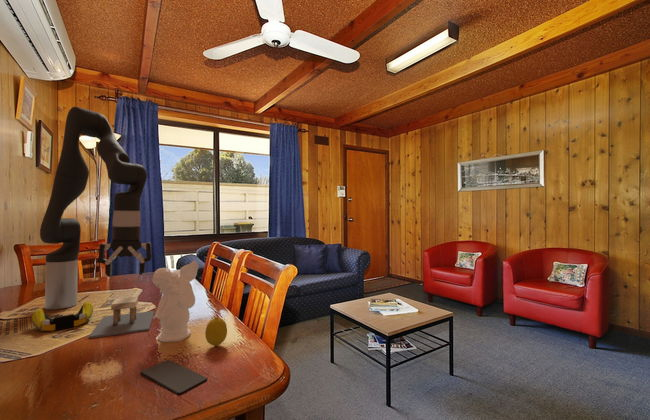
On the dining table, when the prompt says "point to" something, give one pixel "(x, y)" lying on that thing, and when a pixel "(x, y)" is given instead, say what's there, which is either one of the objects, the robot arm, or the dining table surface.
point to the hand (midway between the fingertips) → (125, 275)
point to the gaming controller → (62, 319)
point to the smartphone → (173, 377)
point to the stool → (124, 304)
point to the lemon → (216, 331)
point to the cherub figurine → (175, 301)
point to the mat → (123, 325)
